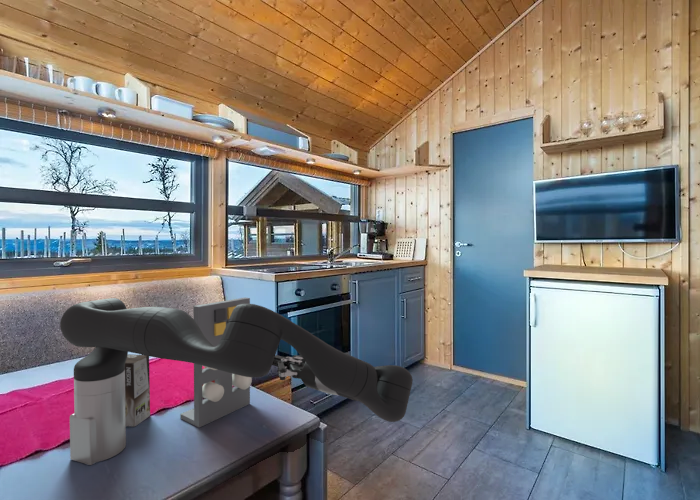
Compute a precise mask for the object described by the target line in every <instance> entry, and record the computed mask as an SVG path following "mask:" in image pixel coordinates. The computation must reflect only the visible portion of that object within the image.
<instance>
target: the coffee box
mask: <svg viewBox="0 0 700 500" xmlns="http://www.w3.org/2000/svg"><path fill="white" fill-rule="evenodd" d="M150 379H151V378H150V356H145V355H142V354H132V353H128V356H127V359H126V362H125V413H126V427H133V428H134V427H137V426H138V425H140V424H141V423H142V422H143V421H145V420H146V419H147V418H149V417H150V416H151V391H150V389H151V385H150V384H151V382H150Z"/></svg>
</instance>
